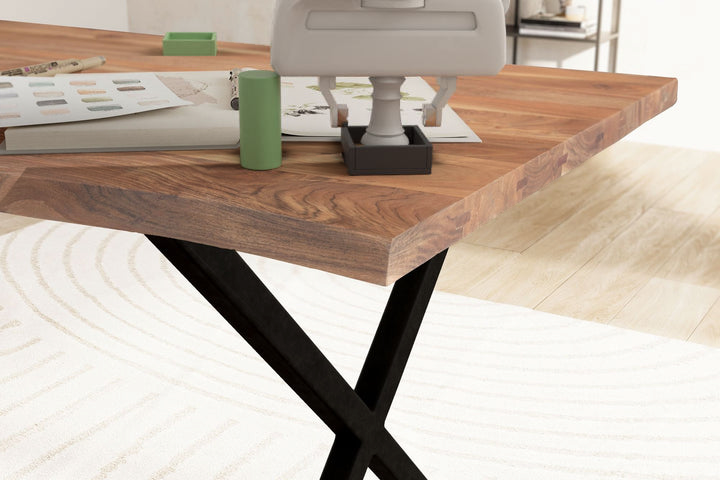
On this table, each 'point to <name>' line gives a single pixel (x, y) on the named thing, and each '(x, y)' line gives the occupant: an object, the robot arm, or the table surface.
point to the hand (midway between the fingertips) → (385, 125)
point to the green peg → (260, 119)
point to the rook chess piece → (385, 113)
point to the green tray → (190, 44)
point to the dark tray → (386, 153)
